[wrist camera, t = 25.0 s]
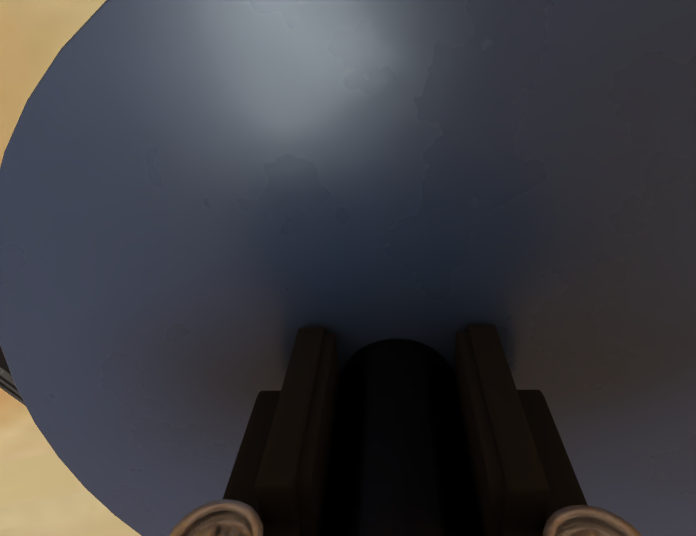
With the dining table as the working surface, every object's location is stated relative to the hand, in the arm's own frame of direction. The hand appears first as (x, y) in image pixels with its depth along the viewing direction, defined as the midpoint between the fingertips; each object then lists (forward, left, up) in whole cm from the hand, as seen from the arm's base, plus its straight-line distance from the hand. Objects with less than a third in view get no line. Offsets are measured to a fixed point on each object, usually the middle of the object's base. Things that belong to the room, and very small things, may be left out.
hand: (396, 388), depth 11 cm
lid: (0, 0, -1) cm, 1 cm away
